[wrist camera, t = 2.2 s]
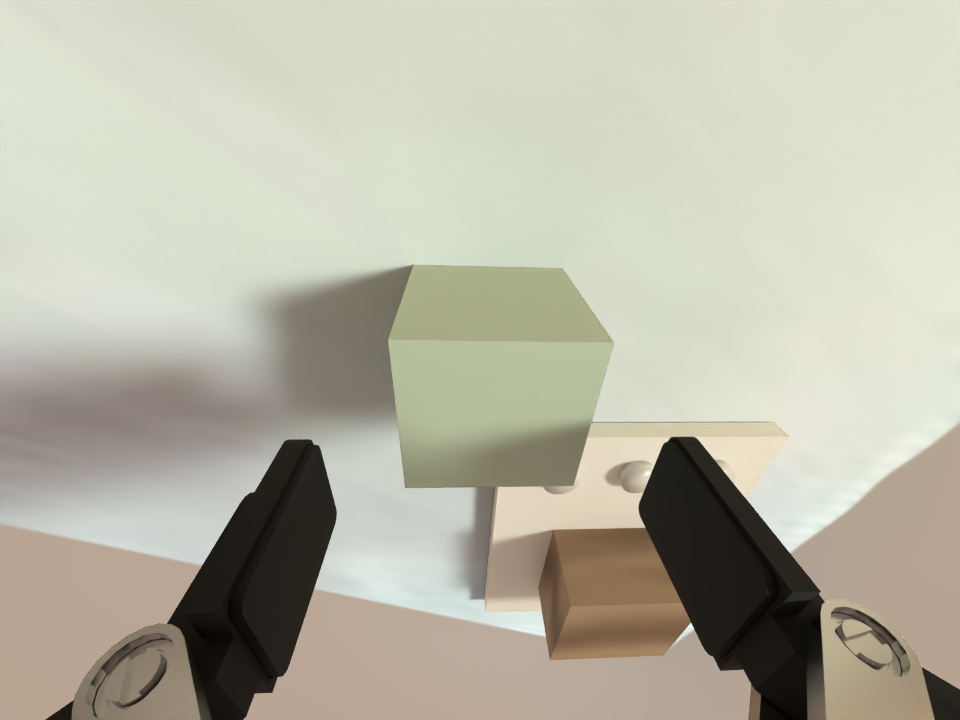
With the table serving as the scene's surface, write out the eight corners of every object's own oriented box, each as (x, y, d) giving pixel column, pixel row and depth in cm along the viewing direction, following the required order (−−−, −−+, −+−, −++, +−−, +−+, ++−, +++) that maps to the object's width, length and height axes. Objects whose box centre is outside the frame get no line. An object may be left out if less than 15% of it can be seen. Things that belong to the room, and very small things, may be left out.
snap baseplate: (501, 423, 17) (504, 447, 16) (774, 422, 18) (799, 445, 17) (484, 597, 27) (485, 621, 26) (662, 591, 28) (672, 615, 27)
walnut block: (553, 529, 21) (570, 606, 18) (669, 527, 21) (707, 601, 18) (538, 587, 25) (550, 659, 22) (636, 584, 25) (663, 655, 22)
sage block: (413, 263, 13) (388, 339, 9) (562, 267, 13) (614, 342, 9) (421, 384, 16) (405, 488, 12) (542, 384, 16) (573, 486, 12)
